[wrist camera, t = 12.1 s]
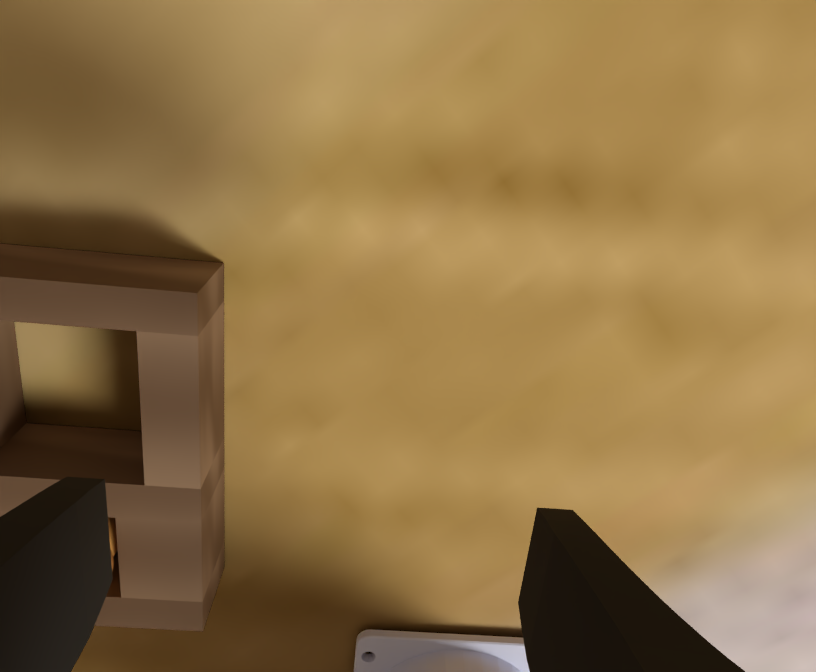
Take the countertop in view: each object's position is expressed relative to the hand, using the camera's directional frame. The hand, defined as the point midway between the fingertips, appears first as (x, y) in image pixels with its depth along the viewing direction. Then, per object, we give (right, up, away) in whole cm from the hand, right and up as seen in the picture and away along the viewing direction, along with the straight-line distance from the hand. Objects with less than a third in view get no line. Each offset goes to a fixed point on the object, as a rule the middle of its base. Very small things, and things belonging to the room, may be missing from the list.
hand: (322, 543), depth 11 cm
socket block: (-9, +1, +11) cm, 14 cm away
